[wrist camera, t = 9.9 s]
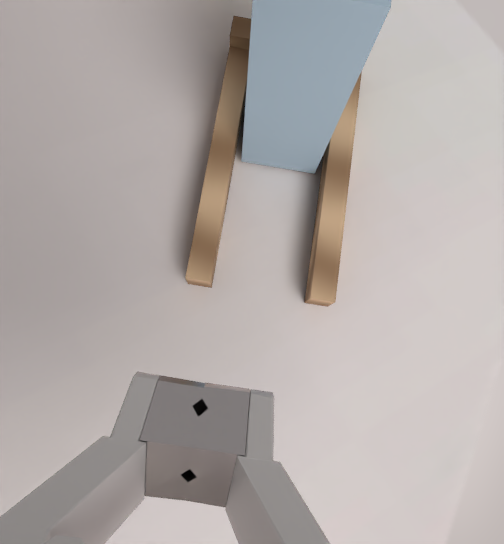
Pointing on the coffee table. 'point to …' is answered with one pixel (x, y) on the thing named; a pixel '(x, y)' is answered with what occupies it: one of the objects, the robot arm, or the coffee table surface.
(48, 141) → the coffee table surface
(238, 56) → the brown flat open frame
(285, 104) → the block
